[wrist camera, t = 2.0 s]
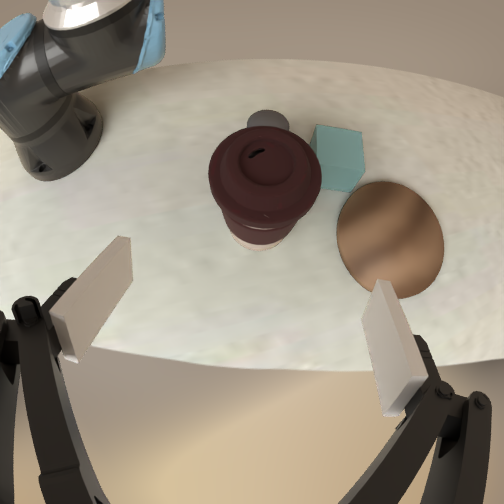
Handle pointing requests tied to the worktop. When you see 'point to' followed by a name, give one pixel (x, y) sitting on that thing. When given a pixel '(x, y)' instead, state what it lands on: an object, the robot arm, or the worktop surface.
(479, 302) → the worktop surface
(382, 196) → the walnut board
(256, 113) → the gray cylinder
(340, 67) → the worktop surface
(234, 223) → the coffee cup
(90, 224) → the worktop surface
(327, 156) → the teal block
